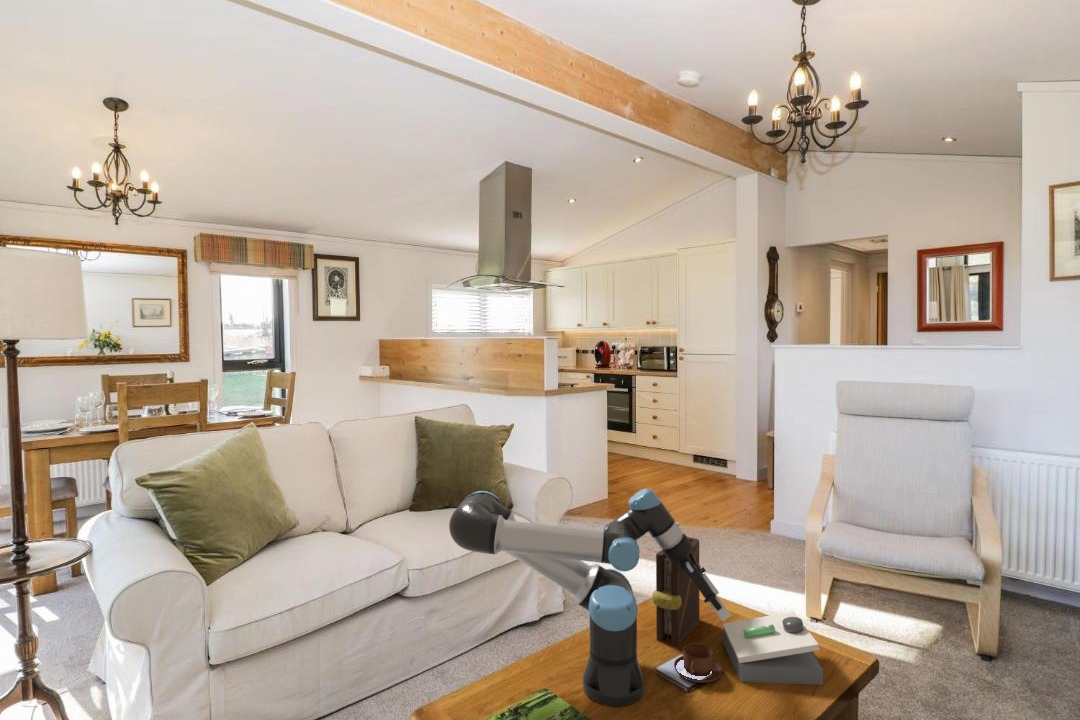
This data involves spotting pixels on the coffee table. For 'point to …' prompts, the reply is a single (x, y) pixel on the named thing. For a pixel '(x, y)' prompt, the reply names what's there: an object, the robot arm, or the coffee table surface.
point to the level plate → (769, 637)
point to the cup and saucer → (699, 662)
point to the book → (675, 598)
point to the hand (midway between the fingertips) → (720, 606)
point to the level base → (778, 668)
